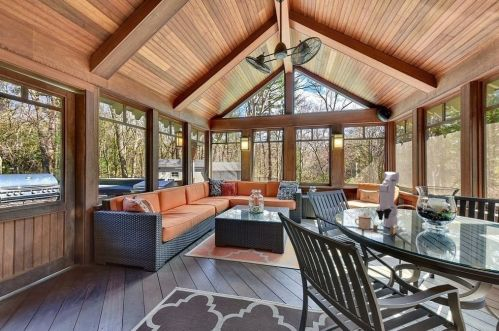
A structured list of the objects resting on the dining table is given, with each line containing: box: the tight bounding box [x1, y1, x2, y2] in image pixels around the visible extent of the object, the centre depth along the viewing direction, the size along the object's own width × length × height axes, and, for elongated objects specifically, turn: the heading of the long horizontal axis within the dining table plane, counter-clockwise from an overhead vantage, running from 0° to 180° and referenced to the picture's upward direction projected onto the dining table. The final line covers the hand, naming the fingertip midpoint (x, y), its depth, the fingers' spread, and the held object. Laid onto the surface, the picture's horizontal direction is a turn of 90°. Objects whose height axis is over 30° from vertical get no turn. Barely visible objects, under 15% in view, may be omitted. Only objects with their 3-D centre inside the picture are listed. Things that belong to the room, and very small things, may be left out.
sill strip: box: [376, 230, 390, 236], centre depth 174 cm, size 2×11×1 cm, turn 26°
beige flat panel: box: [393, 224, 399, 235], centre depth 172 cm, size 12×1×5 cm, turn 136°
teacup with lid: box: [354, 212, 372, 230], centre depth 186 cm, size 12×9×12 cm
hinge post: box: [389, 226, 394, 237], centre depth 167 cm, size 2×2×7 cm
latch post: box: [372, 224, 379, 233], centre depth 177 cm, size 2×2×5 cm, turn 26°
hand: (383, 219), depth 175 cm, fingers open, 7 cm apart
